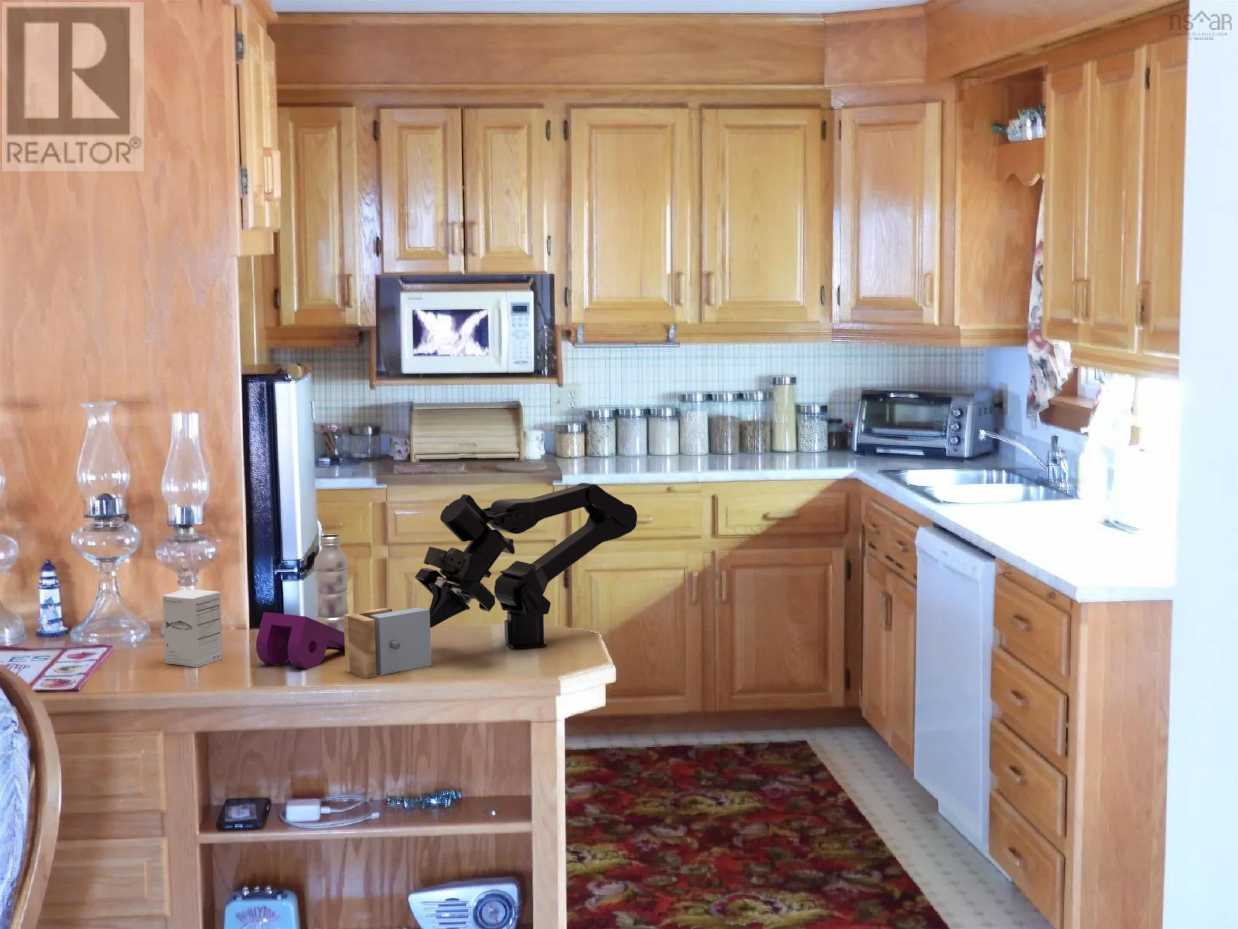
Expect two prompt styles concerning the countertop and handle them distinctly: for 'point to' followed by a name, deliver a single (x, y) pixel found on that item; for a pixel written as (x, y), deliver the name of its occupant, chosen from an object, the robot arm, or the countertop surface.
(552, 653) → the countertop surface
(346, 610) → the plastic bottle
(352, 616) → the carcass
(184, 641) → the supplement box
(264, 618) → the mounting bracket
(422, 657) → the pale grey oblong block
